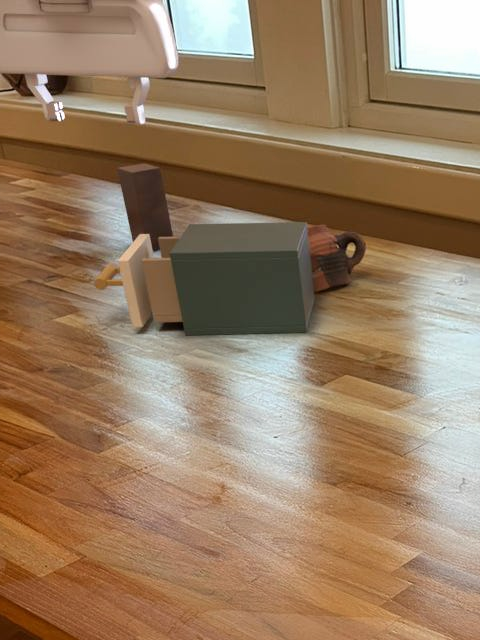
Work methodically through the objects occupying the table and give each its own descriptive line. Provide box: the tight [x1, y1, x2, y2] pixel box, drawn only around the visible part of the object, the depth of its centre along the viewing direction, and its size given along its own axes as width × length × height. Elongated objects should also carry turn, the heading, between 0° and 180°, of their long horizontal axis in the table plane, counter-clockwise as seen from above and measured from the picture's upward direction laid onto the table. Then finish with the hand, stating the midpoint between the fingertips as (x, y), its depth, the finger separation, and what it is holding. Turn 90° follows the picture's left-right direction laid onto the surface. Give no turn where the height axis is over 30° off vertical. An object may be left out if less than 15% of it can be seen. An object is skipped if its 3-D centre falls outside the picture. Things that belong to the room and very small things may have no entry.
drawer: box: [93, 234, 183, 328], centre depth 118 cm, size 18×11×8 cm, turn 93°
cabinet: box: [169, 221, 316, 336], centre depth 119 cm, size 15×13×10 cm
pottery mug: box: [307, 224, 367, 293], centre depth 132 cm, size 12×10×8 cm
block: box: [116, 162, 174, 252], centre depth 143 cm, size 4×4×11 cm
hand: (96, 122), depth 107 cm, fingers open, 8 cm apart
